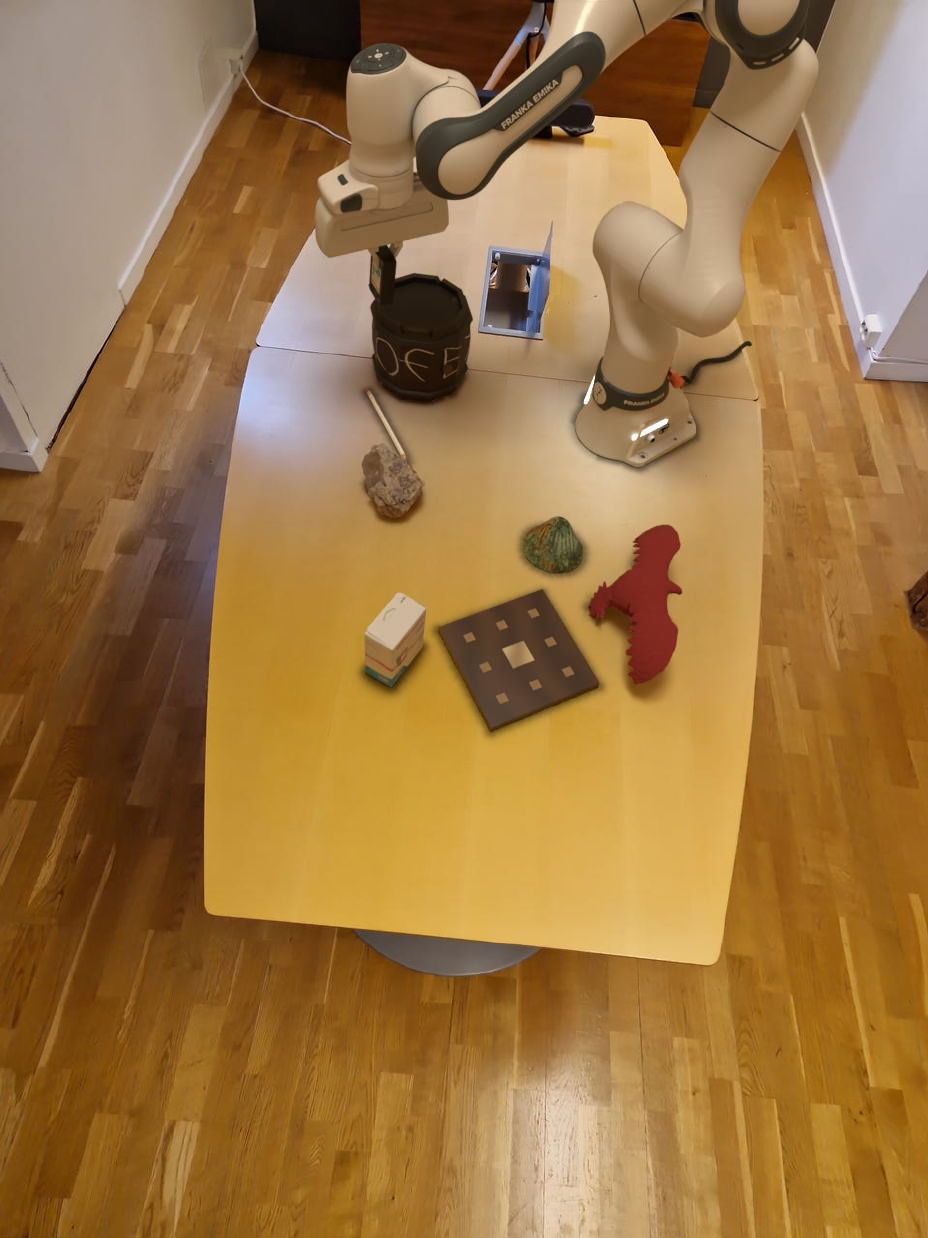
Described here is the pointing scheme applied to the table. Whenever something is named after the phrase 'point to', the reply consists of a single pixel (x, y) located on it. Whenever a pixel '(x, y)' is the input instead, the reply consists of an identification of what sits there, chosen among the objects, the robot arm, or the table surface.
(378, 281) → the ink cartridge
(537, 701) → the board
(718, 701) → the table surface
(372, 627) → the ink box
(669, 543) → the decorative bird sculpture
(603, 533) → the table surface
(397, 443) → the pencil
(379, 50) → the robot arm
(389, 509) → the rock
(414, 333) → the wooden barrel
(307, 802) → the table surface
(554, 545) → the seashell
